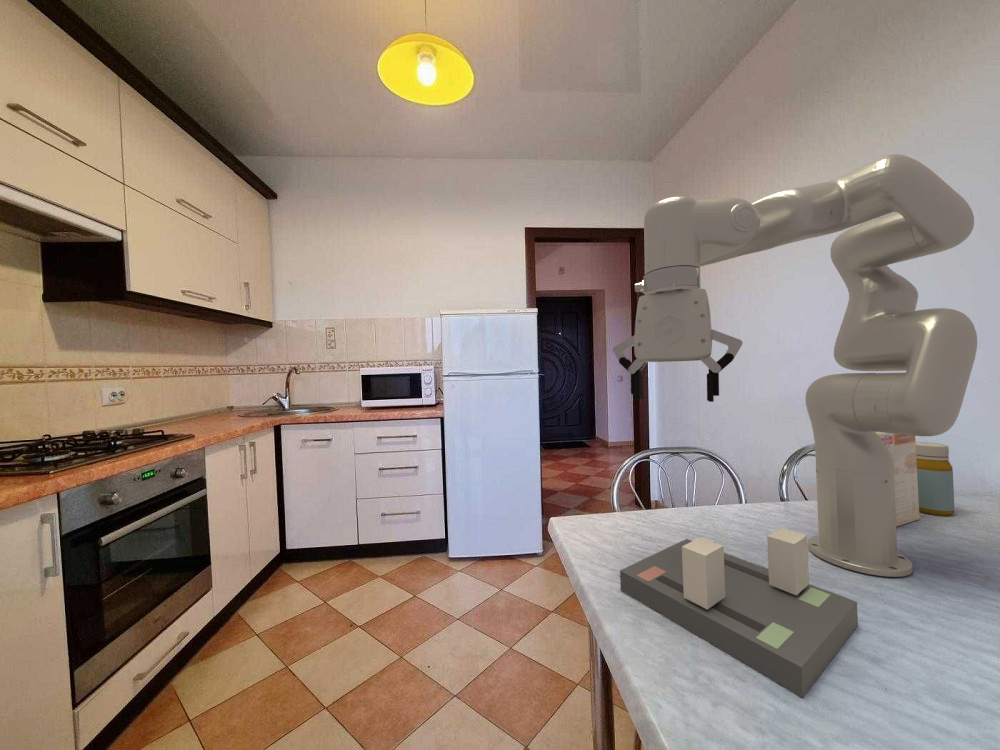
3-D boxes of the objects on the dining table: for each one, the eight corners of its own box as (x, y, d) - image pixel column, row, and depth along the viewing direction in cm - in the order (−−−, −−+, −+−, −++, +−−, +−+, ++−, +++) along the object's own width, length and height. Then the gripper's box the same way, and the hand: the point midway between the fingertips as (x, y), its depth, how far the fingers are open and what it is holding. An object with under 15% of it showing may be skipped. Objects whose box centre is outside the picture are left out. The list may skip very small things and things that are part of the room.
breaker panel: (687, 555, 63) (686, 538, 63) (857, 625, 45) (856, 601, 45) (620, 590, 54) (619, 570, 54) (802, 697, 35) (801, 666, 35)
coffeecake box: (876, 508, 82) (873, 424, 82) (922, 519, 75) (917, 427, 75) (837, 519, 77) (833, 429, 77) (882, 532, 70) (877, 433, 70)
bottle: (965, 517, 76) (962, 447, 76) (925, 516, 77) (922, 446, 77) (933, 505, 82) (930, 441, 83) (896, 504, 84) (894, 441, 84)
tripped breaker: (701, 585, 49) (700, 537, 49) (725, 596, 46) (723, 545, 46) (683, 597, 46) (681, 546, 46) (707, 609, 44) (705, 555, 44)
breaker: (782, 574, 51) (780, 527, 51) (809, 583, 48) (807, 535, 48) (769, 584, 48) (767, 535, 49) (796, 595, 46) (794, 544, 46)
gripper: (606, 288, 55) (607, 400, 54) (742, 269, 45) (744, 403, 45) (619, 298, 61) (619, 398, 61) (740, 283, 52) (742, 400, 51)
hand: (673, 400), depth 53 cm, fingers open, 9 cm apart
